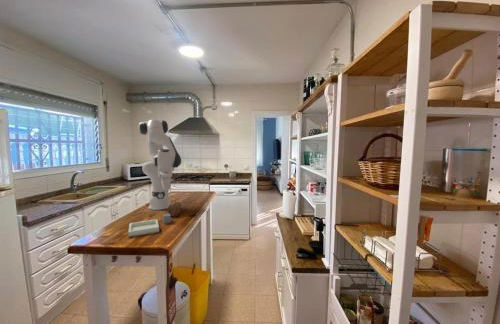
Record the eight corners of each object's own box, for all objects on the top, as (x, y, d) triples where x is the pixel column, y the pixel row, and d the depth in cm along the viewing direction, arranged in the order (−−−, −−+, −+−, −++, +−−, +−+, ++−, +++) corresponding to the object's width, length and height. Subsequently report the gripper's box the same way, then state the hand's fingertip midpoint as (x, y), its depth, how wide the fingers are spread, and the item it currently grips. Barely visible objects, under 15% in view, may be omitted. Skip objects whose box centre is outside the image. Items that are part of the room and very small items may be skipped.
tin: (170, 217, 157) (170, 206, 157) (166, 217, 158) (166, 205, 157) (181, 211, 172) (181, 200, 171) (177, 211, 173) (177, 200, 172)
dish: (129, 227, 138) (129, 223, 138) (157, 223, 145) (157, 219, 145) (128, 237, 124) (128, 231, 123) (159, 232, 131) (159, 227, 130)
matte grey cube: (163, 221, 149) (162, 214, 148) (170, 220, 151) (169, 213, 150) (163, 223, 145) (163, 216, 144) (170, 222, 147) (170, 215, 146)
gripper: (158, 172, 153) (159, 191, 154) (161, 175, 135) (162, 197, 136) (168, 171, 156) (169, 191, 157) (172, 175, 138) (172, 196, 139)
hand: (165, 194), depth 146 cm, fingers open, 8 cm apart
